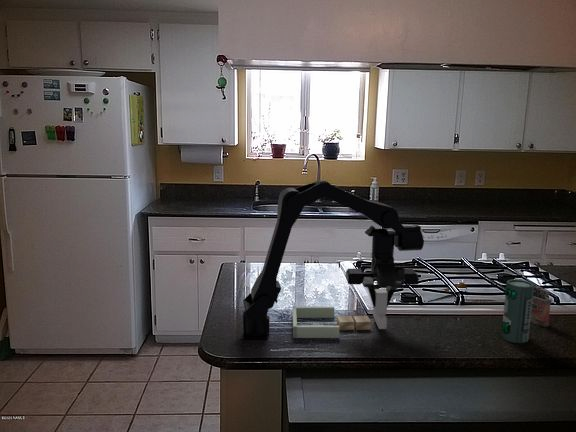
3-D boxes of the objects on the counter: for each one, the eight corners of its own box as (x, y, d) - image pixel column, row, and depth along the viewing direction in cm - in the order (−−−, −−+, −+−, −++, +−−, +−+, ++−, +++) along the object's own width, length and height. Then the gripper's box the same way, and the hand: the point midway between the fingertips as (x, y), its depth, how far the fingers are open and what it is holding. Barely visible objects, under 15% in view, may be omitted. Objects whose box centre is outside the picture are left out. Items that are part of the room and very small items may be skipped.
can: (505, 330, 127) (510, 277, 124) (530, 337, 123) (536, 282, 120) (499, 338, 122) (504, 283, 120) (524, 345, 119) (530, 289, 116)
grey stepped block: (377, 328, 125) (378, 296, 123) (371, 315, 134) (372, 285, 132) (388, 328, 125) (390, 296, 123) (381, 315, 134) (383, 285, 132)
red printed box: (518, 316, 137) (522, 283, 135) (527, 314, 138) (530, 282, 136) (543, 327, 129) (547, 292, 127) (551, 325, 131) (555, 291, 129)
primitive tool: (425, 303, 147) (426, 293, 146) (413, 298, 152) (413, 288, 151) (468, 294, 156) (469, 283, 155) (455, 289, 161) (456, 279, 160)
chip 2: (356, 330, 127) (356, 322, 127) (352, 324, 131) (353, 316, 131) (370, 330, 128) (370, 321, 127) (366, 324, 132) (367, 315, 131)
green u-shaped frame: (293, 337, 123) (293, 327, 122) (292, 316, 136) (292, 306, 136) (339, 337, 123) (339, 327, 122) (333, 316, 136) (334, 306, 136)
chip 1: (339, 330, 127) (339, 322, 127) (336, 324, 131) (336, 316, 131) (354, 330, 128) (354, 321, 127) (350, 324, 132) (351, 315, 131)
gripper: (351, 259, 117) (350, 318, 120) (426, 259, 118) (422, 318, 121) (346, 248, 128) (344, 302, 131) (414, 248, 128) (411, 302, 131)
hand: (380, 306), depth 128 cm, fingers closed on grey stepped block, 3 cm apart
